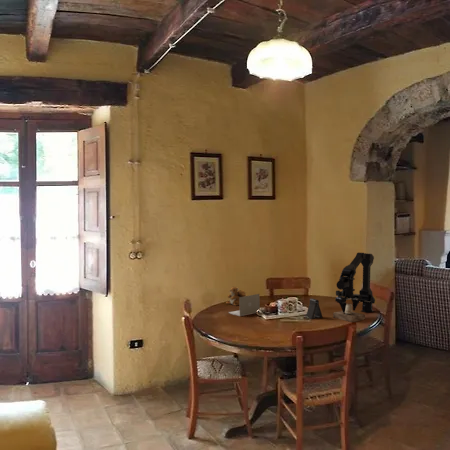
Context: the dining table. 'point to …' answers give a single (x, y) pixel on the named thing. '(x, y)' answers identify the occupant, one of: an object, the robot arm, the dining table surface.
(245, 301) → the laptop
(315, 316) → the phone stand
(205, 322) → the dining table surface
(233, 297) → the stuffed squirrel
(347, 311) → the birch peg
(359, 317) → the walnut board
